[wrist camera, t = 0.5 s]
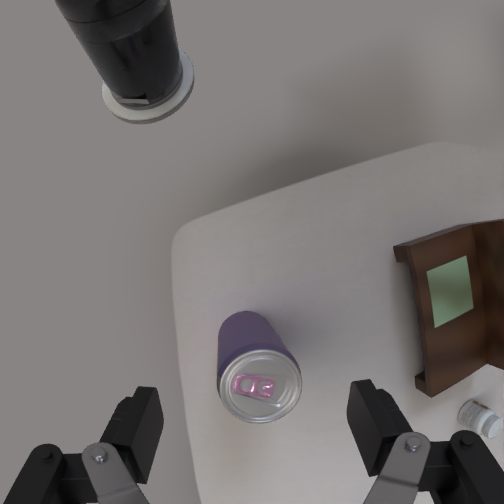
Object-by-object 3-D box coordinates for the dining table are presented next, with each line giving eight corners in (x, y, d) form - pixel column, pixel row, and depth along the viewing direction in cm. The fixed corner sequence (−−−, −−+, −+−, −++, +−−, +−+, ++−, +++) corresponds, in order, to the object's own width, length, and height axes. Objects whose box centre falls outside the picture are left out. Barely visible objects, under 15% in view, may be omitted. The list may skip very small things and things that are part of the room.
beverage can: (225, 304, 35) (228, 338, 20) (278, 316, 35) (315, 356, 20) (213, 354, 35) (208, 417, 20) (264, 366, 35) (291, 431, 20)
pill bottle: (478, 408, 38) (507, 424, 31) (461, 427, 38) (489, 446, 30) (471, 394, 38) (502, 410, 30) (454, 414, 38) (483, 433, 30)
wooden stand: (393, 246, 37) (442, 243, 27) (458, 224, 38) (508, 217, 28) (415, 388, 37) (458, 415, 27) (475, 354, 38) (519, 370, 28)
